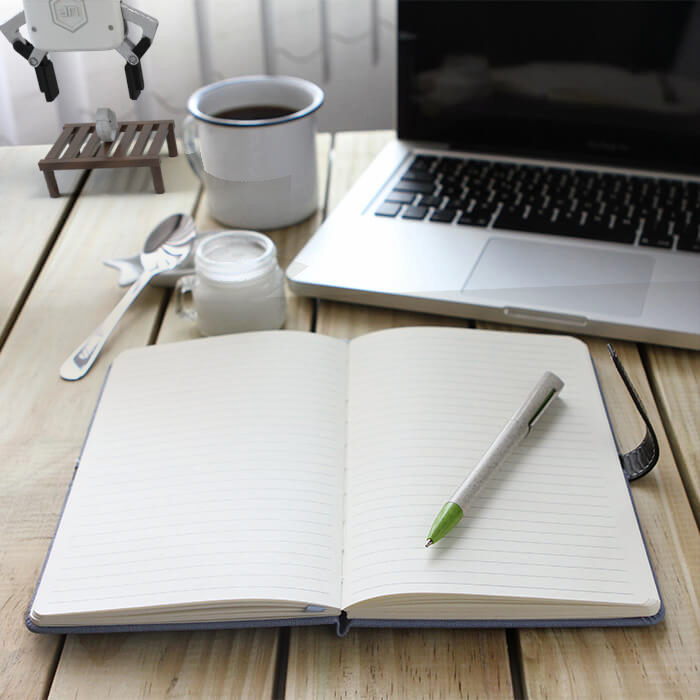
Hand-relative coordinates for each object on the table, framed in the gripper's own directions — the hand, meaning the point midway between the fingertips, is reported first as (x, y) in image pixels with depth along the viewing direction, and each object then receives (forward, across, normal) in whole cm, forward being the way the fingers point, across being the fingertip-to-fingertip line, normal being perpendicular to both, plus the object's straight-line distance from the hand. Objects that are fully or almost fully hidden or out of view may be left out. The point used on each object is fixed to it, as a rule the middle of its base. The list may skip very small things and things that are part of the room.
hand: (94, 97), depth 92 cm
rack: (+10, 0, +1) cm, 10 cm away
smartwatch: (+6, 0, +1) cm, 6 cm away
